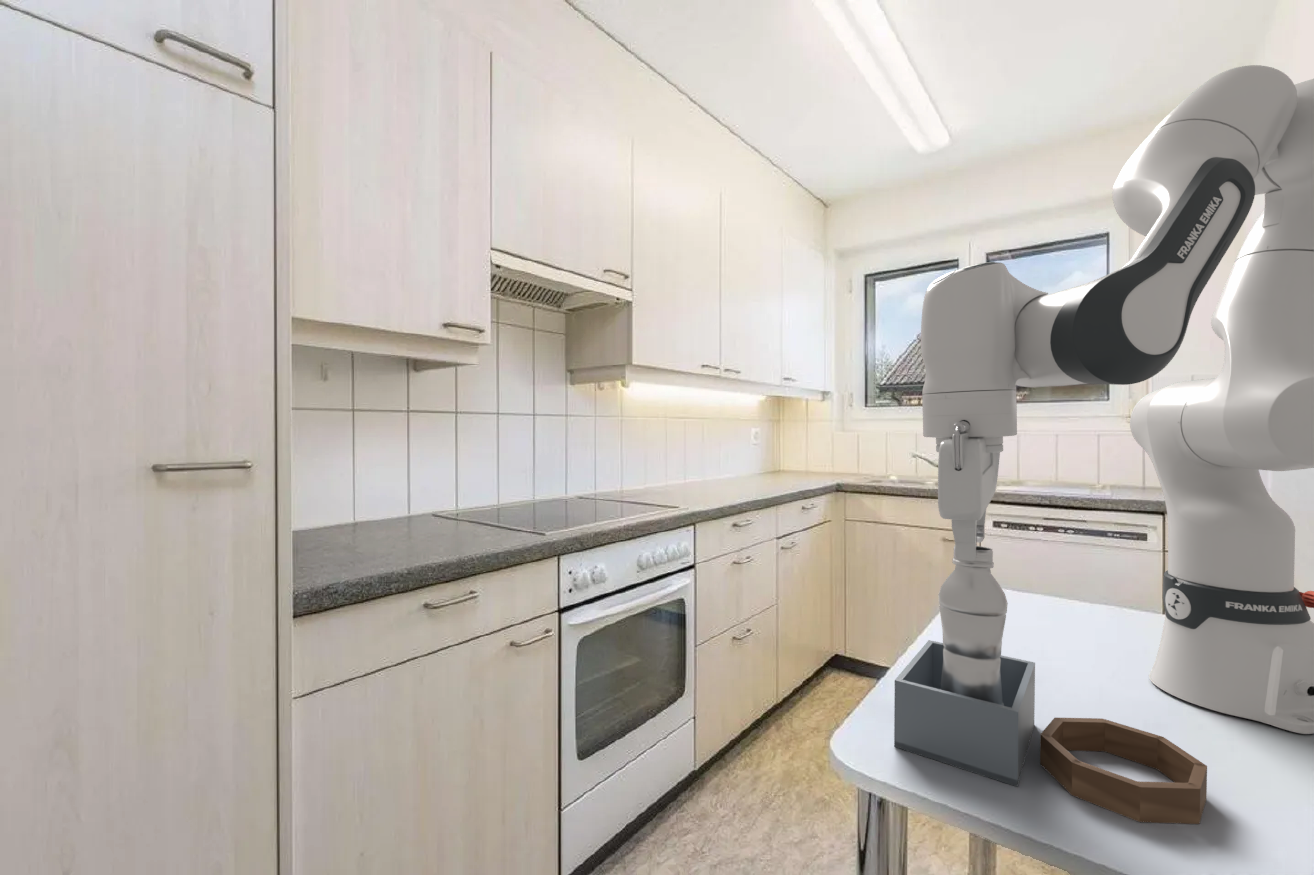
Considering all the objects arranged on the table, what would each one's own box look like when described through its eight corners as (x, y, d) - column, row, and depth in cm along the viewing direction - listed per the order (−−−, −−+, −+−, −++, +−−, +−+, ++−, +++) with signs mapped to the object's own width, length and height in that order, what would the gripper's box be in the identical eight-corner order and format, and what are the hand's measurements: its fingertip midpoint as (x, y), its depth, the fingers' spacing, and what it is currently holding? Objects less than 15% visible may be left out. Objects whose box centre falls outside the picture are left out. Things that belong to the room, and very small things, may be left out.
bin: (928, 696, 72) (928, 640, 72) (1034, 724, 65) (1035, 662, 65) (894, 746, 61) (894, 680, 61) (1017, 786, 54) (1018, 712, 54)
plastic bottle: (934, 749, 59) (937, 548, 59) (936, 722, 65) (939, 540, 65) (1009, 766, 56) (1012, 555, 56) (1004, 737, 62) (1006, 546, 62)
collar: (1136, 747, 61) (1137, 719, 60) (1242, 825, 49) (1243, 789, 49) (1020, 745, 61) (1020, 716, 61) (1097, 820, 50) (1098, 785, 49)
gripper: (996, 420, 52) (999, 576, 52) (1007, 417, 69) (1009, 534, 69) (919, 423, 55) (922, 568, 56) (948, 419, 72) (950, 530, 73)
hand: (971, 549), depth 63 cm, fingers open, 8 cm apart
